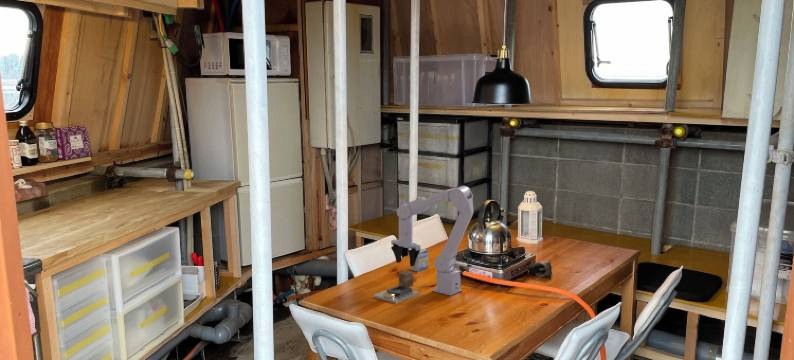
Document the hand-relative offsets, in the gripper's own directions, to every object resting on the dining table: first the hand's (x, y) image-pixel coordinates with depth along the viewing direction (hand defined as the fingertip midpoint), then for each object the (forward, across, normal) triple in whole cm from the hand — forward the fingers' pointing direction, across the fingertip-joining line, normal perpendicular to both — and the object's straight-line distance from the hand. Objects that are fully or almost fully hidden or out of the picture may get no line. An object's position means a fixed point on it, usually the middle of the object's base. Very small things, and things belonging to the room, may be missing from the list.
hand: (405, 264), depth 257 cm
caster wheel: (+9, +36, +49) cm, 62 cm away
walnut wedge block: (+10, 0, 0) cm, 10 cm away
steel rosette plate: (+10, +5, -12) cm, 16 cm away
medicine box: (+10, -11, +23) cm, 27 cm away
